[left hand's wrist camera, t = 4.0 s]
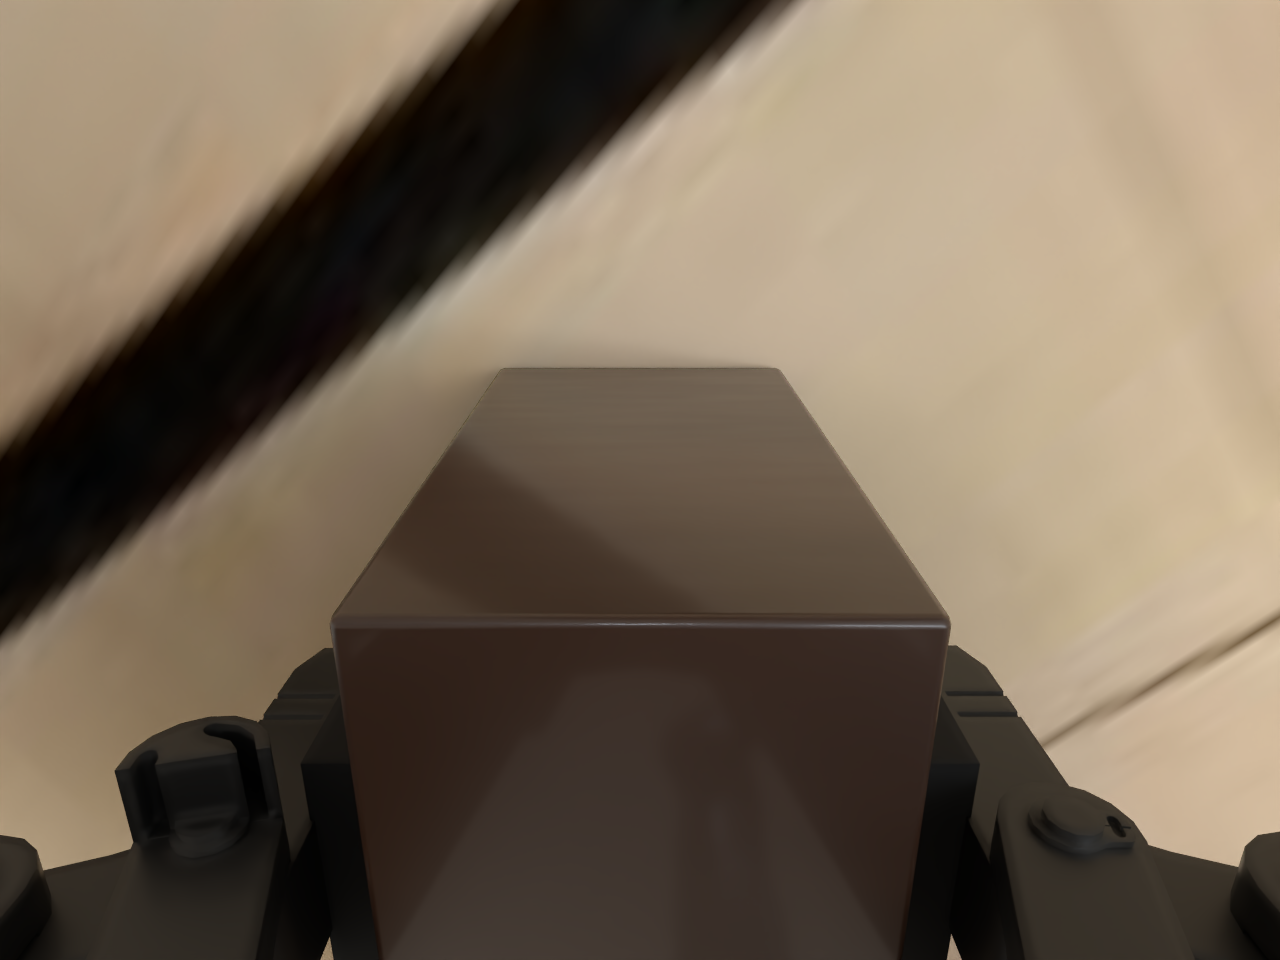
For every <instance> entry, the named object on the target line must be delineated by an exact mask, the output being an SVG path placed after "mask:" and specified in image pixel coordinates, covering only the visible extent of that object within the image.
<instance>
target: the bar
mask: <svg viewBox="0 0 1280 960" xmlns="http://www.w3.org/2000/svg"><path fill="white" fill-rule="evenodd" d="M330 629H331V636H332V643H333V650H334V657H335V663H336V670H337V677H338V684H339V691H340V698H341V704H342V711H343V718H344V725H345V732H346V739H347V745H348V752H349V759H350V766H351V773H352V780H353V786H354V793H355V800H356V807H357V814H358V821H359V827H360V834H361V841H362V848H363V855H364V862H365V869H366V875H367V882H368V889H369V896H370V903H371V910H372V916H373V923H374V930H375V937H376V944H377V951H378V957H379V960H902V954H903V947H904V941H905V934H906V927H907V920H908V913H909V907H910V900H911V893H912V886H913V880H914V873H915V866H916V859H917V853H918V846H919V839H920V832H921V825H922V819H923V812H924V805H925V798H926V792H927V785H928V778H929V771H930V764H931V758H932V751H933V744H934V737H935V731H936V724H937V717H938V710H939V704H940V697H941V690H942V683H943V676H944V670H945V663H946V656H947V649H948V643H949V636H950V629H951V622H950V619H949V616H948V614H947V613H946V612H945V610H944V609H943V607H942V606H941V604H940V603H939V601H938V600H937V598H936V597H935V595H934V594H933V593H932V591H931V590H930V588H929V587H928V585H927V584H926V582H925V581H924V579H923V578H922V577H921V575H920V574H919V572H918V571H917V569H916V568H915V566H914V565H913V563H912V562H911V560H910V559H909V558H908V556H907V555H906V553H905V552H904V550H903V549H902V547H901V546H900V544H899V543H898V542H897V540H896V539H895V537H894V536H893V534H892V533H891V531H890V530H889V528H888V527H887V525H886V524H885V523H884V521H883V520H882V518H881V517H880V515H879V514H878V512H877V511H876V509H875V508H874V506H873V505H872V504H871V502H870V501H869V499H868V498H867V496H866V495H865V493H864V492H863V490H862V489H861V488H860V486H859V485H858V483H857V482H856V480H855V479H854V477H853V476H852V474H851V473H850V471H849V470H848V469H847V467H846V466H845V464H844V463H843V461H842V460H841V458H840V457H839V455H838V454H837V453H836V451H835V450H834V448H833V447H832V445H831V444H830V442H829V441H828V439H827V438H826V436H825V435H824V434H823V432H822V431H821V429H820V428H819V426H818V425H817V423H816V422H815V420H814V419H813V417H812V416H811V415H810V413H809V412H808V410H807V409H806V407H805V406H804V404H803V403H802V401H801V400H800V399H799V397H798V396H797V394H796V393H795V391H794V390H793V388H792V387H791V385H790V384H789V382H788V381H787V380H786V378H785V377H784V375H783V374H782V372H781V371H780V370H779V369H776V368H504V369H502V370H500V372H499V373H498V374H497V376H496V377H495V379H494V380H493V382H492V383H491V385H490V386H489V388H488V389H487V391H486V392H485V393H484V395H483V396H482V398H481V399H480V401H479V402H478V404H477V405H476V407H475V408H474V410H473V411H472V412H471V414H470V415H469V417H468V418H467V420H466V421H465V423H464V424H463V426H462V427H461V428H460V430H459V431H458V433H457V434H456V436H455V437H454V439H453V440H452V442H451V443H450V445H449V446H448V447H447V449H446V450H445V452H444V453H443V455H442V456H441V458H440V459H439V461H438V462H437V464H436V465H435V466H434V468H433V469H432V471H431V472H430V474H429V475H428V477H427V478H426V480H425V481H424V483H423V484H422V485H421V487H420V488H419V490H418V491H417V493H416V494H415V496H414V497H413V499H412V500H411V502H410V503H409V504H408V506H407V507H406V509H405V510H404V512H403V513H402V515H401V516H400V518H399V519H398V521H397V522H396V523H395V525H394V526H393V528H392V529H391V531H390V532H389V534H388V535H387V537H386V538H385V540H384V541H383V542H382V544H381V545H380V547H379V548H378V550H377V551H376V553H375V554H374V556H373V557H372V559H371V560H370V561H369V563H368V564H367V566H366V567H365V569H364V570H363V572H362V573H361V575H360V576H359V578H358V579H357V580H356V582H355V583H354V585H353V586H352V588H351V589H350V591H349V592H348V594H347V595H346V597H345V598H344V599H343V601H342V602H341V604H340V605H339V607H338V608H337V610H336V611H335V613H334V614H333V616H332V618H331V621H330Z"/></svg>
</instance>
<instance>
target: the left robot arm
mask: <svg viewBox="0 0 1280 960" xmlns="http://www.w3.org/2000/svg"><path fill="white" fill-rule="evenodd" d="M115 774H116V778H117V782H118V786H119V789H120V793H121V797H122V801H123V804H124V808H125V812H126V816H127V820H128V823H129V827H130V831H131V835H132V838H133V845H132V847H131V849H129V850H126V851H123V852H119V853H116V854H113V855H109V856H105V857H101V858H96V859H92V860H87V861H83V862H79V863H74V864H70V865H66V866H61V867H57V868H53V869H48V870H44V871H43V868H42V865H41V862H40V859H39V856H38V853H37V850H36V849H35V848H34V847H33V846H32V845H30V844H29V843H28V842H27V841H26V840H25V839H22V838H16V837H10V836H3V835H0V960H320V959H321V957H322V954H323V952H324V949H325V947H326V944H327V942H328V939H329V937H330V940H331V946H332V952H333V958H334V960H379V957H378V951H377V944H376V937H375V930H374V923H373V916H372V910H371V903H370V896H369V889H368V882H367V875H366V869H365V862H364V855H363V848H362V841H361V834H360V827H359V821H358V814H357V807H356V800H355V793H354V786H353V780H352V773H351V766H350V759H349V752H348V745H347V739H346V732H345V725H344V718H343V711H342V704H341V698H340V691H339V684H338V677H337V670H336V663H335V657H334V650H333V648H324V649H323V650H321V651H320V652H319V653H317V654H316V655H314V656H313V657H312V658H310V659H309V660H307V661H306V662H305V663H303V664H302V665H300V666H299V667H297V668H296V669H295V670H294V671H293V673H292V674H291V676H290V677H289V679H288V680H287V682H286V683H285V684H284V686H283V687H282V689H281V690H280V692H279V693H278V698H277V699H274V700H273V702H272V703H271V705H270V706H269V708H268V709H267V711H266V712H265V713H264V718H263V720H260V721H259V722H257V721H254V720H250V719H246V718H242V717H238V716H218V717H206V718H202V719H198V720H194V721H189V722H185V723H181V724H178V725H176V726H174V727H172V728H169V729H167V730H165V731H162V732H160V733H158V734H156V735H153V736H152V737H150V738H149V739H147V740H146V741H144V742H143V743H142V744H140V745H139V746H137V747H136V748H135V749H133V750H132V751H130V752H129V753H128V754H127V756H126V757H125V758H124V759H123V761H122V762H121V763H120V765H119V766H118V767H117V768H116V770H115ZM951 934H952V936H953V939H954V941H955V944H956V946H957V949H958V951H959V954H960V956H961V959H962V960H1280V832H1275V833H1269V834H1262V835H1258V836H1256V837H1255V838H1254V839H1253V840H1252V841H1251V842H1250V843H1248V844H1247V845H1246V846H1245V848H1244V851H1243V855H1242V858H1241V861H1240V864H1239V867H1235V866H1231V865H1226V864H1222V863H1218V862H1213V861H1209V860H1204V859H1200V858H1196V857H1191V856H1187V855H1182V854H1178V853H1174V852H1170V851H1167V850H1163V849H1160V848H1157V847H1153V846H1150V845H1148V843H1147V841H1146V840H1145V838H1144V837H1143V835H1142V834H1141V832H1140V831H1139V829H1138V828H1137V826H1136V825H1135V823H1134V822H1133V821H1132V820H1131V819H1130V818H1128V817H1127V816H1126V815H1125V814H1123V813H1122V812H1121V811H1120V810H1118V809H1117V808H1116V807H1115V806H1113V805H1112V804H1111V803H1109V802H1107V801H1105V800H1103V799H1101V798H1099V797H1097V796H1095V795H1093V794H1091V793H1089V792H1087V791H1085V790H1081V789H1077V788H1074V787H1070V786H1069V785H1068V784H1067V783H1066V781H1065V780H1064V778H1063V777H1062V775H1061V774H1060V773H1059V771H1058V770H1057V768H1056V767H1055V765H1054V764H1053V762H1052V761H1051V760H1050V758H1049V757H1048V755H1047V754H1046V752H1045V751H1044V749H1043V748H1042V747H1041V745H1040V744H1039V742H1038V741H1037V739H1036V738H1035V736H1034V735H1033V734H1032V732H1031V731H1030V729H1029V728H1028V726H1027V725H1026V724H1025V722H1024V721H1023V719H1022V718H1021V717H1018V715H1017V711H1016V709H1015V708H1014V706H1013V705H1012V703H1011V702H1010V700H1009V699H1008V698H1007V696H1003V690H1002V689H1001V687H1000V686H999V685H998V683H997V682H996V680H995V679H994V677H993V676H992V674H991V673H990V672H989V670H988V669H987V667H986V666H984V665H983V664H982V663H980V662H979V661H977V660H976V659H975V658H973V657H972V656H970V655H969V654H967V653H966V652H965V651H963V650H962V649H960V648H959V647H958V646H948V649H947V656H946V663H945V670H944V676H943V683H942V690H941V697H940V704H939V710H938V717H937V724H936V731H935V737H934V744H933V751H932V758H931V764H930V771H929V778H928V785H927V792H926V798H925V805H924V812H923V819H922V825H921V832H920V839H919V846H918V853H917V859H916V866H915V873H914V880H913V886H912V893H911V900H910V907H909V913H908V920H907V927H906V934H905V941H904V947H903V954H902V960H947V955H948V949H949V943H950V937H951Z"/></svg>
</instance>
